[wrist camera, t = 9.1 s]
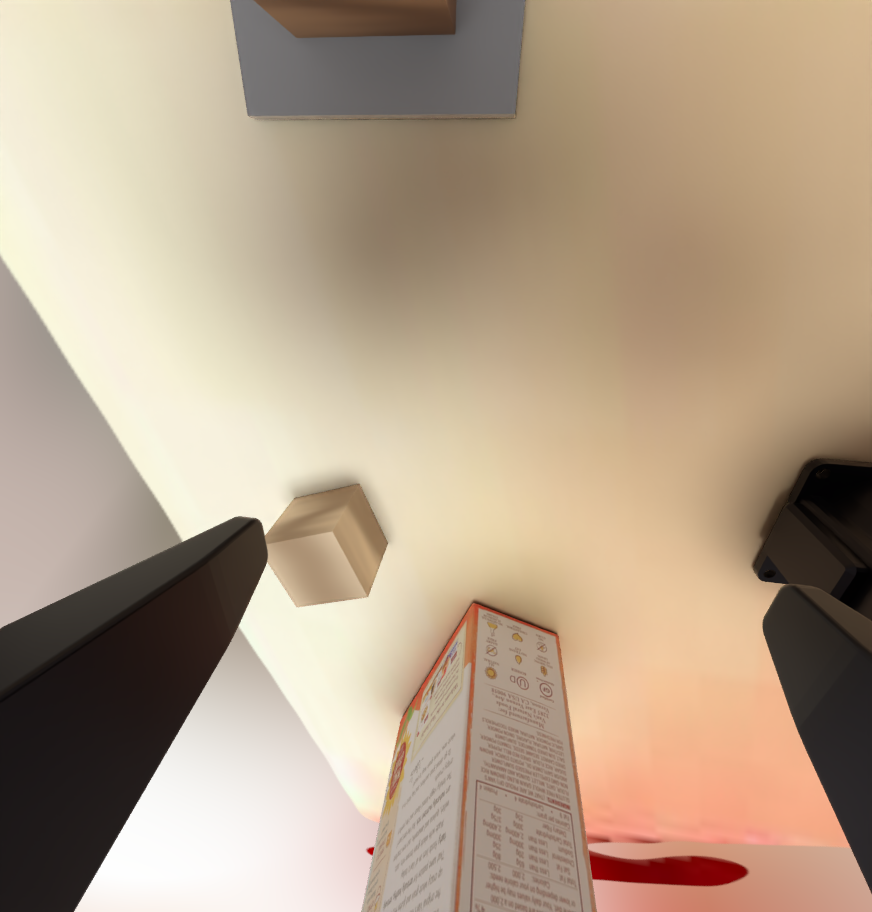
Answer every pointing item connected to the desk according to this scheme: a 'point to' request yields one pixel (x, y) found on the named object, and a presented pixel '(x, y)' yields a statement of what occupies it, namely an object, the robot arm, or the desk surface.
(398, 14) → the walnut cube
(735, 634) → the desk surface
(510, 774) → the cracker box
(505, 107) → the slate coaster
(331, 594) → the oak block
